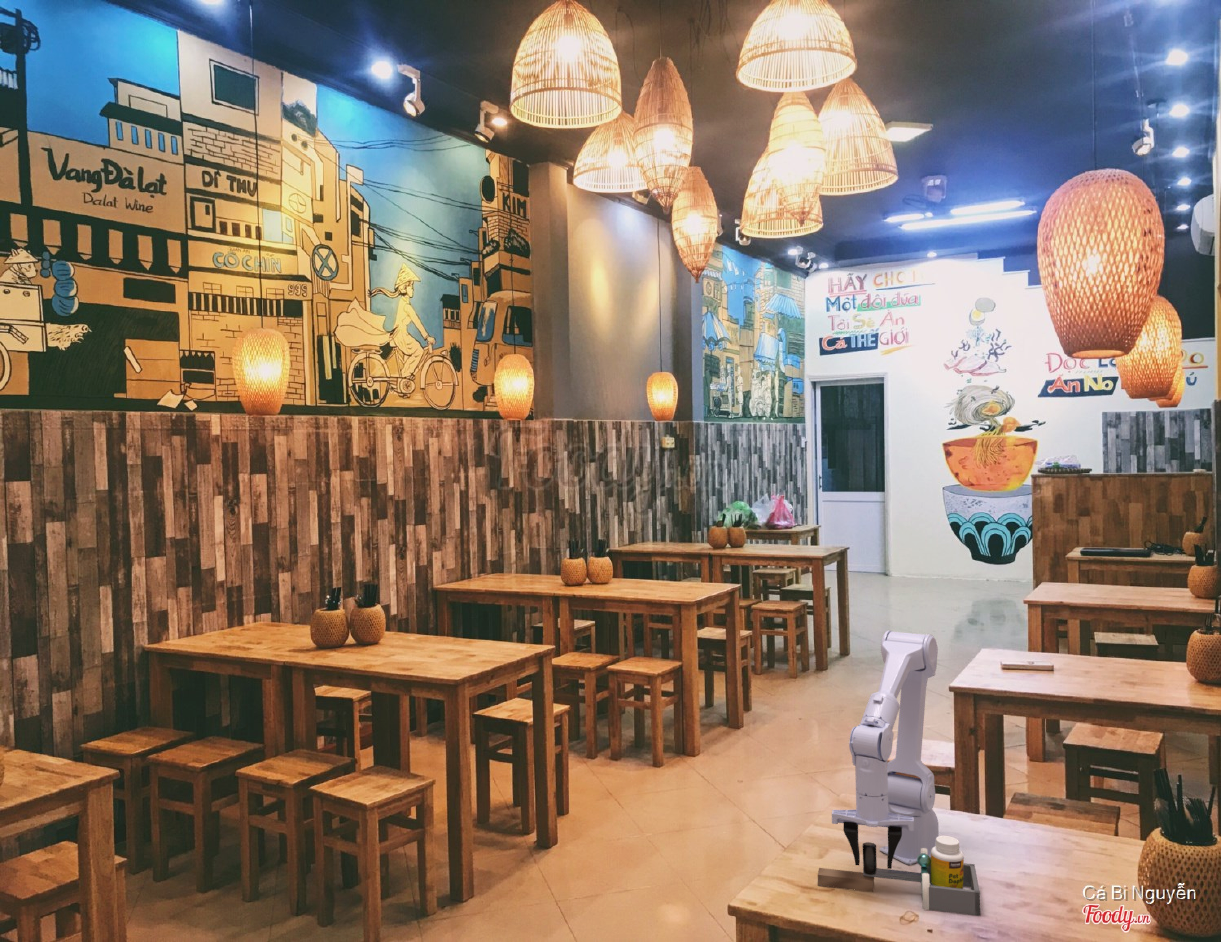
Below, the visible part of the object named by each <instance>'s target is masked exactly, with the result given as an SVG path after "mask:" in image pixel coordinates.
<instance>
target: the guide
mask: <svg viewBox="0 0 1221 942" xmlns="http://www.w3.org/2000/svg"><path fill="white" fill-rule="evenodd" d="M817 886H818V887H823V888H825V887H826V888H833V889H843V890H849V889H853V890H852V891H858V890H859V891H860V892H866V893H867V892H868V893H874V892H875V877H868V876H863V871H862V872H861V871H853V870H852V871H850V870H843V869H834V868H824V867H819V868H818V871H817ZM854 889H855V890H854Z"/></svg>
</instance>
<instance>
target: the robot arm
mask: <svg viewBox="0 0 1221 942" xmlns="http://www.w3.org/2000/svg"><path fill="white" fill-rule="evenodd" d="M938 651H939V649H938V643H937V639H936V638H935V637H934V635H933V634H930V633H928V634H926V633H925V634H924V633H914V632H912V633H911V632H902V631H901V632H900V631H893V630H889V629H888V630H886V631H885V632H884V634H883V635H882V636H881V642H880V653H881V656H882V661H883V664H884V665H883V670H882V674H881V678H880V683H879V686H878V690H877V692H873V693H871V695H870V696H869V698H868V700H867V701H868V702H867V703H866V706H865V709H864V712H863V714H862V717H861V720H860V722H859V724H858V725H857V726H855V725H854V727H852V728H851V732H850V734H849V735H850V736H849V743H848V746H849V747H848V748H849V752H850V754H851V763H852V765H853V766H854V768H855V769H854V770H855V804H856V805H855V808H856V809H832V810H831V811H832V812H831V824H833V825H834V824H835V825H838V824H843V833H844V835H845V837H846V839H847V841H848V843H849V846H850V848H851V852H852V854H853V859H854V863H855V866H860V863H861V862H860V861H861V860H860V858H861V855H860V846H859V845H860V844H859V826H866V827H869V828H878V827H880V828H887V845H885V846H882V847H879V851H880V852H881V853H884V854H885V855H887V862H886V863H887V864H886V865H887V868H886V869H890V870H893V868H892V867H893V866H892V865H893V861H894V859H896V860H897V861H900V862H902V863H903V864H905V865H909V866H910V865H914V864H916V863H917V864H918V862H917V857H918V855H919V854H921V848H926V849H927V853H928V856H929V857H930V859H931V850H932V848H933V847H935V846H936V845H935V844H936V838H937V837H938V836H940V834H939V829H940V828H939V820H938V816H937V814H936V813H935V811H934V809H933V808H934V805H935V801H936V788H935V775H934V773H933V771H931V769H930V768H929V767H928V766H927V765H926V764H924V762H922V750H923V749H922V748H923V738H924V737H923V736H924V735H923V734H924V721H925V709H926V708H925V707H926V696H927V685H928V680H929V679H930V678H932V677H935V675H936V670H937V665H938V664H937V663H938ZM899 694H900V699H899V701H900V702H899V701H898V699H897V698H898V697H899ZM897 716H898V717H897ZM897 718H898V723H897V724H898V725H897V736H896V737H897V738H896V748H895V757H894V758H893V759H891V760H889V759H890V757H891V754H892V750H893V740H894V735H895V734H894V732H893V729H894V726H895V723H896V720H897ZM888 760H889V761H888ZM897 773H898V774H897ZM899 773H901V774H899ZM903 774H906V775H903ZM908 775H910V776H908ZM913 776H916V777H913Z"/></svg>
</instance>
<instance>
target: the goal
mask: <svg viewBox="0 0 1221 942" xmlns="http://www.w3.org/2000/svg"><path fill="white" fill-rule="evenodd" d="M921 853H925V854H927V855H928V853H927V849H926V848H921ZM975 865H976V864H974V863H966V862H965V863H964V866H963V889H959V888H950V887H941V886H932V885H931V864H930V865H929V866H928V867H927V873H922V887H921V894H922V893H923V900H922V909H923V910H924V911H934V912H943V913H951V914H962V915H968V916H969V915H970V916H979V917H980V916H981V893H980V892H981V891H980V886H979V881H978V875H977V870H976V866H975ZM964 887H965V888H964ZM966 888H970V889H966Z"/></svg>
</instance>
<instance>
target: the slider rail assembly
mask: <svg viewBox="0 0 1221 942" xmlns="http://www.w3.org/2000/svg"><path fill="white" fill-rule="evenodd" d="M917 864H918V865H919V866H920V872H917V871H916V872H915V871H907V870H897V869H896V870H895V869H888V868H878V867H877V844H876V843H874V842H869V841H866V842H863V843H862V873H863V876H868V877H874V878H878V879H879V878H880V879H887V880H888V879H889V880H896V881H897V880H898V881H905V882H906V881H907V882H915V883H921V886H920V887H921V888H922V873H927V867H928V866H929V865H930V864H931V858H930V857H929V856H928V855H927V854H925V853H921V854H919V855H918V857H917ZM921 900H922V901H923V893H922V892H921Z"/></svg>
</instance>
